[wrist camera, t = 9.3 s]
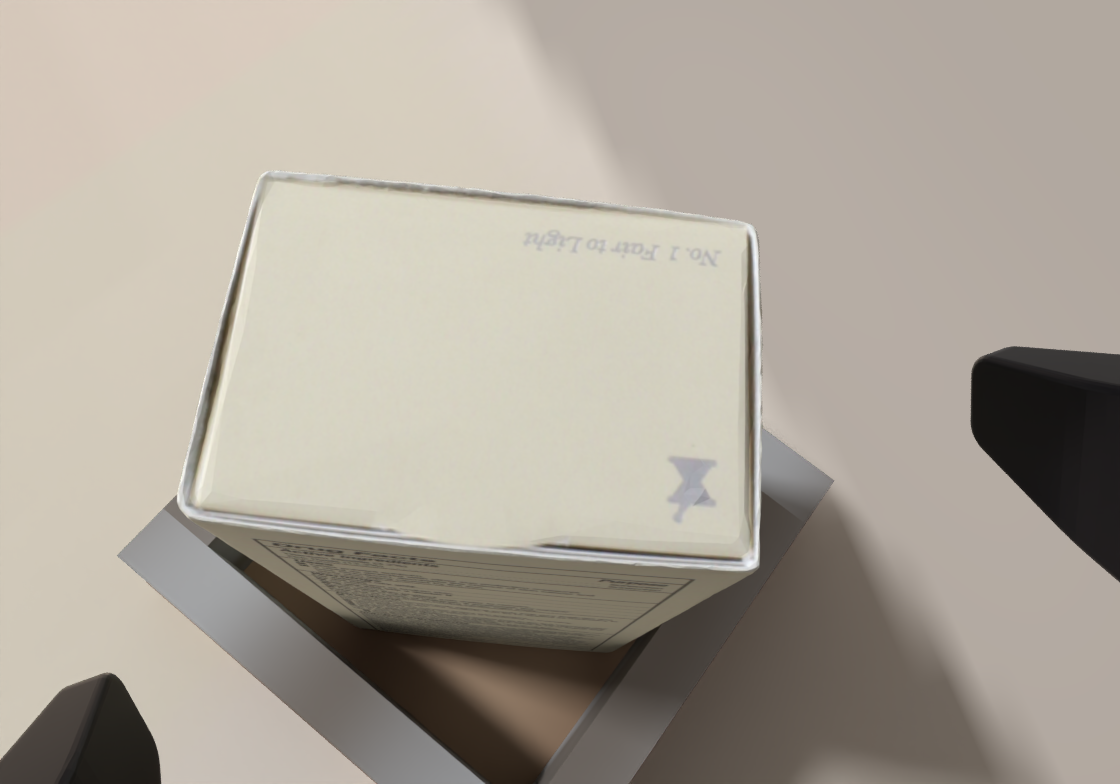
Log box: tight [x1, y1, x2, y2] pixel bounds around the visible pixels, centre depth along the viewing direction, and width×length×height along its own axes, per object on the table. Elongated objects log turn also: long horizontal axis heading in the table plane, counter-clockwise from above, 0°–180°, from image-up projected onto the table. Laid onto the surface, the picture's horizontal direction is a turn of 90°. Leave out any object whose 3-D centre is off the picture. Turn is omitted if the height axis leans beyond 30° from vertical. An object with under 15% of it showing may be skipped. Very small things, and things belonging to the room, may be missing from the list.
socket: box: [117, 429, 834, 784], centre depth 20 cm, size 11×11×4 cm
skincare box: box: [177, 171, 763, 653], centre depth 16 cm, size 6×4×12 cm
